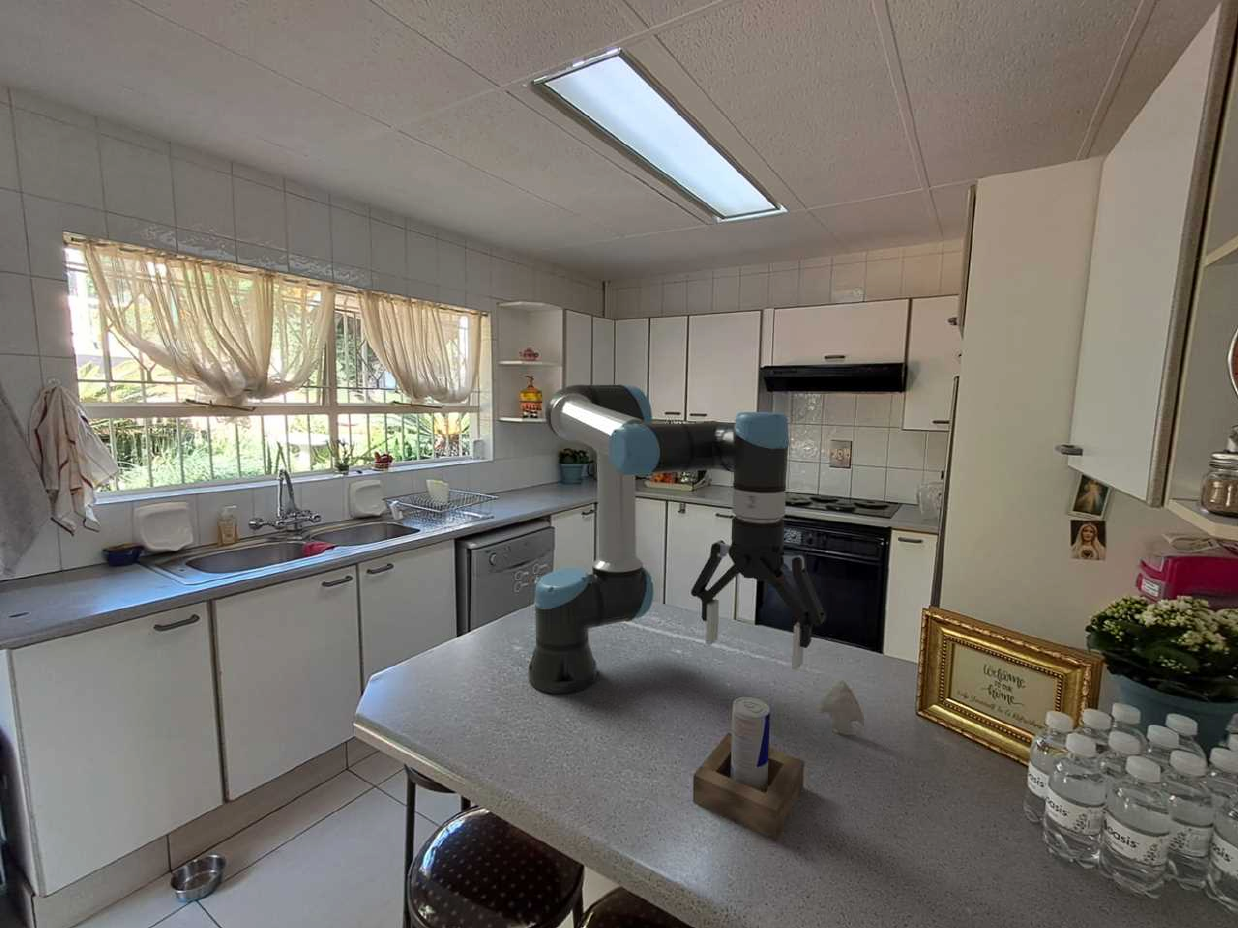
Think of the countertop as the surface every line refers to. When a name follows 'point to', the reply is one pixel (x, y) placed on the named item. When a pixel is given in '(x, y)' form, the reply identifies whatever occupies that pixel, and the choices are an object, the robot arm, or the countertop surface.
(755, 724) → the beverage can
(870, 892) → the countertop surface
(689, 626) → the countertop surface
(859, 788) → the countertop surface
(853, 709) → the arrowhead
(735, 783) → the socket
